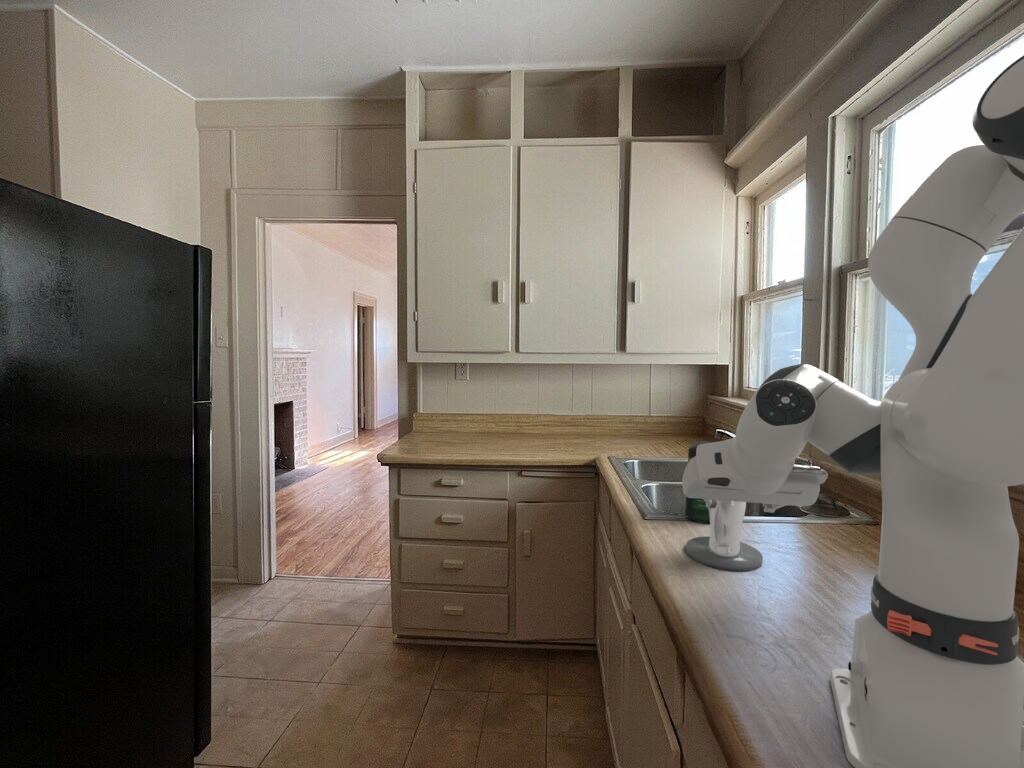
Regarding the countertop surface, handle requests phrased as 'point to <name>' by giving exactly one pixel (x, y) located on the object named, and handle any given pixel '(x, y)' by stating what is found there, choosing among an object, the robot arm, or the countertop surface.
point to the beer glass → (726, 528)
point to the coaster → (745, 562)
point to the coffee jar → (694, 505)
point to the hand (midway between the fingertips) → (738, 506)
